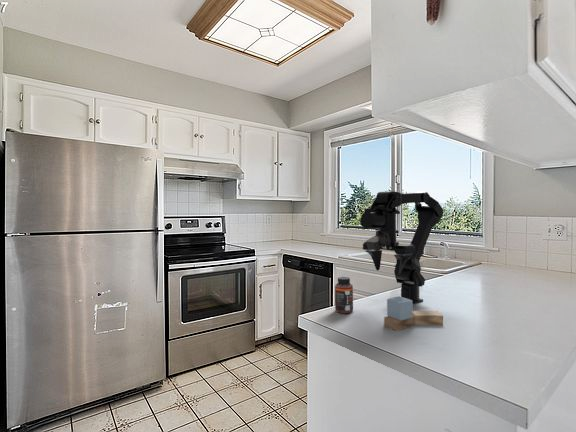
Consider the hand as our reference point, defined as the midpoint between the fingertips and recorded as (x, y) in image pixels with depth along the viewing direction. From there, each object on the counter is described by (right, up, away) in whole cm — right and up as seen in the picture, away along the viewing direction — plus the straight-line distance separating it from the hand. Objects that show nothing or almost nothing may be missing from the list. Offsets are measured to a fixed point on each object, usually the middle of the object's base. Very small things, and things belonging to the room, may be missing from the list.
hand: (387, 272), depth 115 cm
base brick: (-2, -13, -18) cm, 22 cm away
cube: (-2, -10, -18) cm, 21 cm away
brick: (+7, -13, -16) cm, 21 cm away
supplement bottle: (-16, -13, -4) cm, 21 cm away
